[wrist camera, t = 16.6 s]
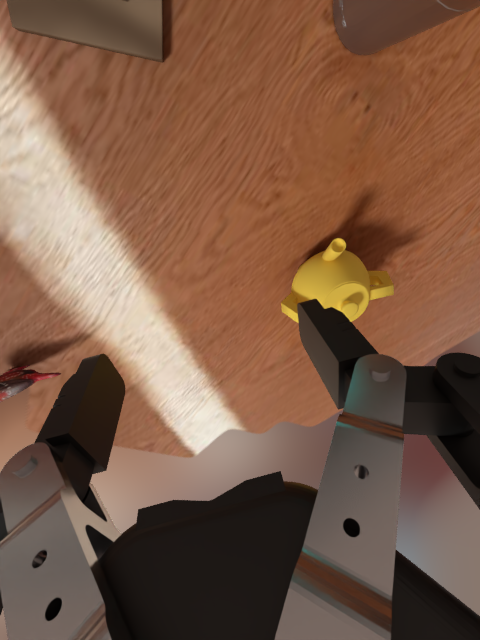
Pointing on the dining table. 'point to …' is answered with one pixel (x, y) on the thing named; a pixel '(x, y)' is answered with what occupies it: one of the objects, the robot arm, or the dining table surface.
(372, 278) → the teapot
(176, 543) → the robot arm
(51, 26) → the socket board
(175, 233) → the dining table surface
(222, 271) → the dining table surface
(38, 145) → the dining table surface
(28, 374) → the decorative bird figurine
